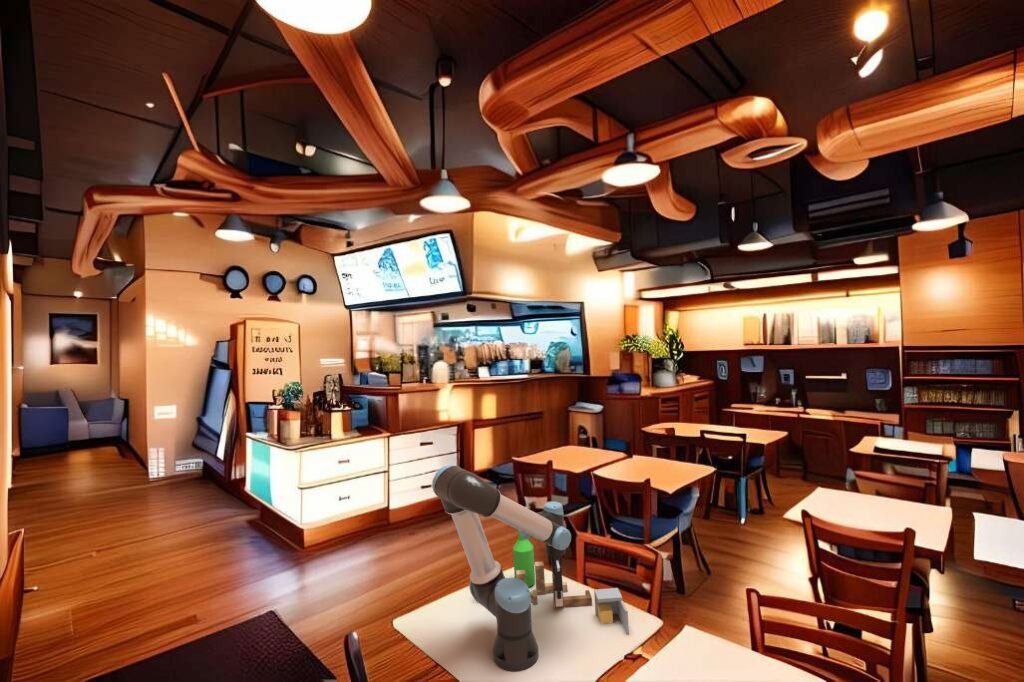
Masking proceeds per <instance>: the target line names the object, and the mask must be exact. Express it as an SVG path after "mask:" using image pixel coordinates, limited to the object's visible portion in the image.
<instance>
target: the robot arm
mask: <svg viewBox="0 0 1024 682" xmlns="http://www.w3.org/2000/svg"><path fill="white" fill-rule="evenodd" d="M431 484H432V485H431V487H432V490H433V493H434V494H435V496H436V497H438V498H439V499H440V500H441V503H442V506H443V508H444V512H445V513H446V514H448V515H451V518H452V521H453V523H454V526H455V529H456V531H457V534H458V537H459V540H460V542H461V545H462V547H463V548H462V549H463V550H464V555H465V556H466V558H467V561H468V564H469V567H470V569H471V570H470V571H471V572H470V573H469V579H470V581H469V585H468V587H469V592H470V594H471V596H472V597H473V599H474V600H475V602H477V603H478V604H479V605H481V606H482V607H484V608H485V609H486V610H487V611H488V612H489V613H490V614H492V615H493V616H494V617H495V618H496V631H497V632H496V633H497V634H496V637H495V641H494V644H493V649H492V657H493V658H492V659H493V662H494V663H495V664H496V665H497V667H499V668H500V669H503V670H506V671H511V672H518V671H523V670H524V671H525V670H526V669H528V668H531V667H532V666H533V665H535V664H536V662H537V661H538V659H539V646H538V643H537V641H536V637H535V635H534V632H533V627H532V626H533V625H532V623H533V622H532V608H531V607H532V605H531V604H532V603H531V597H530V592H531V591H530V587H528V586H527V584H526V583H525V582H523V581H522V580H520V579H515V577H506V576H505V575H504V572H503V569H502V566H501V563H500V562H499V561H497V560H495V559H494V556H493V553H492V550H491V546H489V542H488V539H487V536H486V533H485V530H484V528H483V524H482V521H481V519H480V516H481V517H484V518H490V517H491V518H494V519H495V520H498V521H500V522H502V523H504V524H505V525H508V526H510V527H512V528H513V529H516V530H517V529H518V531H519V534H520V535H521V537H523V538H525V539H526V538H527V539H531V538H535V539H536V540H539V541H540V542H542V543H545V552H546V554H547V555H548V556H550V562H551V563H550V564H551V571H552V574H554V575H555V588H554V591H555V600H556V607H558V606H563V597H564V595H563V596H562V591H563V587H562V582H563V574H562V573H563V572H562V571H563V570H562V569H563V566H562V564H563V560H562V557H561V556H563V555H565V553H566V549H567V548H568V547H569V546H570V544H571V541H572V533H571V532H570V530H569V529H567V528H566V527H565V523H564V522H565V520H564V518H565V517H564V515H565V514H564V507H563V504H562V503H561V502H558V501H547V502H545V503H544V505H543V510H541V511H539V512H535V511H533V510H531V509H529V508H527V507H526V506H525V505H524V506H523V505H522V504H519V503H518V502H516V501H515V500H512V499H510V498H509V497H506V496H505V495H503V494H501V491H500V490H499V489H498V488H496V487H495V486H493V485H491V484H489V483H488V482H487V481H485V480H484V479H483V478H481V477H480V476H478V475H477V474H476V473H474V472H470V471H469V470H466V469H464V468H461V467H460V466H458V465H452V464H451V465H450V464H447V465H445V466H442V467H441V468H439V469H438V470H437V471H436V473H435V474H434V476H433V479H432V482H431ZM479 515H480V516H479ZM518 531H517V532H518ZM552 574H551V575H552Z"/></svg>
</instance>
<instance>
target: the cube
mask: <svg viewBox="0 0 1024 682" xmlns="http://www.w3.org/2000/svg"><path fill="white" fill-rule="evenodd" d="M598 620H599V623H600V624H601V623H603V624H609V623H608V622H613V623H614V614H613V611H612V608H611V606H610V604H601V605H598Z"/></svg>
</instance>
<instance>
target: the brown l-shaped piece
mask: <svg viewBox="0 0 1024 682" xmlns="http://www.w3.org/2000/svg"><path fill="white" fill-rule="evenodd" d="M551 577H552V583H553V593H552V596H553V607H554V610H562V609H565V608H577V607H591V606H593V597H592V594H591V592H590V590H589V589H588V590H585V592H584V593H585V594H583V595H580V594H579V595H569V596H568V595H566V596H564V592H563V591H562V596H563V606H558V607H556V600H555V591H554V588H555V575H554V574H551ZM562 587H563V584H562Z"/></svg>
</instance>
